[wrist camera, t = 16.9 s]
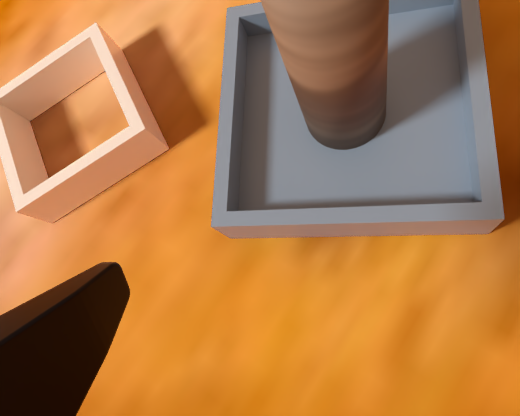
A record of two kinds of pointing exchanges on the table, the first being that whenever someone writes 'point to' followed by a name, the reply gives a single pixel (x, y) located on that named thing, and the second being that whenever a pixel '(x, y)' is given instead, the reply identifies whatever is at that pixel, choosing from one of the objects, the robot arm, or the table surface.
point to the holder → (94, 162)
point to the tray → (370, 154)
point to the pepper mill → (335, 64)
